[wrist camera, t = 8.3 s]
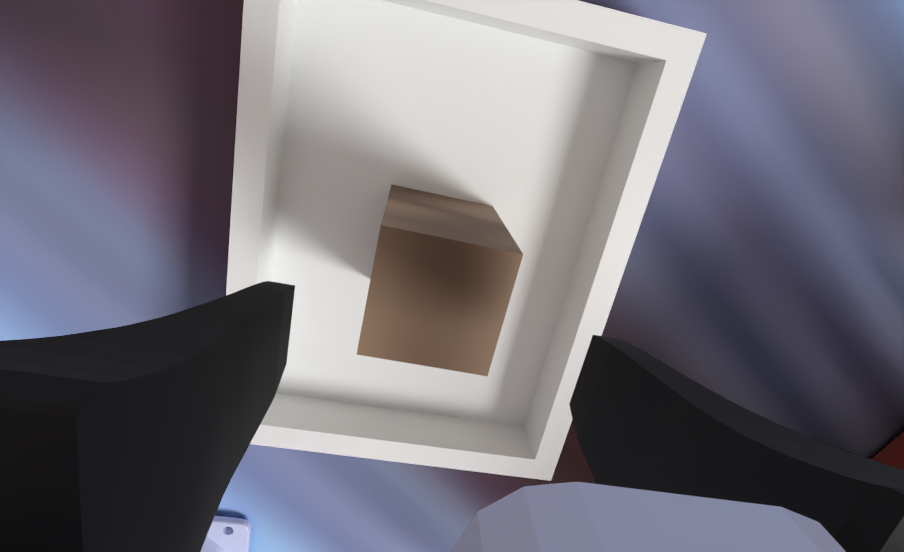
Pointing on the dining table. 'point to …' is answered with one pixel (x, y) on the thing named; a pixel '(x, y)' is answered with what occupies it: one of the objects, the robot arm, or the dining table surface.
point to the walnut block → (439, 282)
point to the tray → (454, 175)
